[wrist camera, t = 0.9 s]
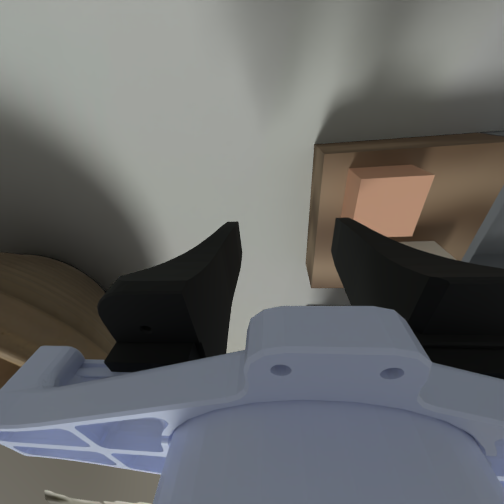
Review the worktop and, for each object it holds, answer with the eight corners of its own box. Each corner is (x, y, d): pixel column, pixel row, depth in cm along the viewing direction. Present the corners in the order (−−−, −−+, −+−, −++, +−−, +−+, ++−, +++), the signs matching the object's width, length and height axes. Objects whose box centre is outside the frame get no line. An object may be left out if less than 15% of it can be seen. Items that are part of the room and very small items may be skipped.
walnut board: (421, 260, 23) (446, 287, 20) (305, 263, 25) (311, 288, 21) (477, 132, 17) (528, 140, 13) (314, 144, 18) (324, 154, 15)
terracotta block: (394, 219, 17) (411, 236, 15) (340, 221, 17) (349, 238, 15) (411, 164, 15) (435, 174, 12) (348, 168, 15) (361, 179, 13)
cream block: (417, 279, 20) (434, 299, 18) (370, 279, 20) (381, 299, 18) (434, 240, 18) (455, 259, 15) (381, 242, 18) (395, 260, 16)
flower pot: (191, 351, 36) (157, 458, 25) (46, 356, 41) (-36, 449, 30) (95, 178, 21) (-97, 262, 10) (-124, 216, 25) (-424, 303, 14)
